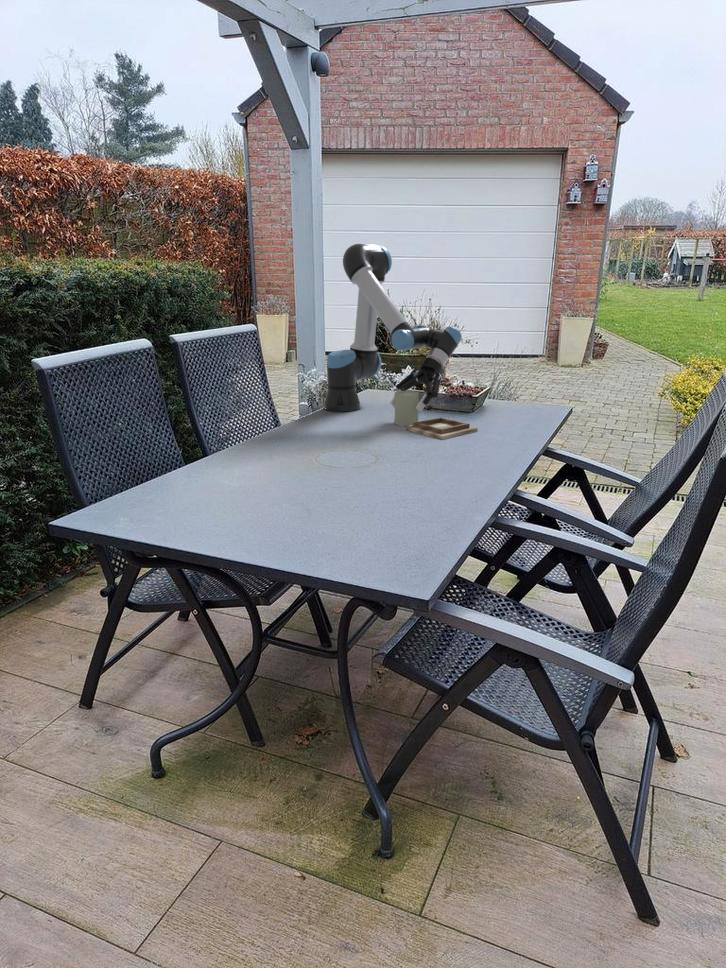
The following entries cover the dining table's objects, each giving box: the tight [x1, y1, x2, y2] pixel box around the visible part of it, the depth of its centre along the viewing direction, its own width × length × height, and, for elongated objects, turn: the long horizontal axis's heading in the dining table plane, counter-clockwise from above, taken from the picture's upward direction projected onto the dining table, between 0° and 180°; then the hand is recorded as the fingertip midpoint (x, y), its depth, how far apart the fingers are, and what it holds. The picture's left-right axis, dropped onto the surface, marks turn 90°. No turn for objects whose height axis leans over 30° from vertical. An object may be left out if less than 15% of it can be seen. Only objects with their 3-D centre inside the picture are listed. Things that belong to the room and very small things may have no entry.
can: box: [393, 390, 420, 427], centre depth 238 cm, size 9×9×12 cm
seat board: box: [405, 417, 478, 440], centre depth 227 cm, size 18×18×3 cm
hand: (405, 407), depth 237 cm, fingers open, 13 cm apart
